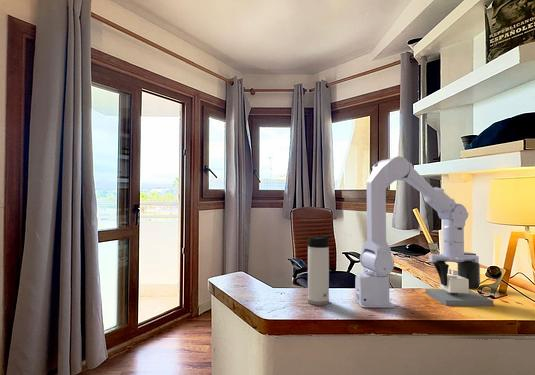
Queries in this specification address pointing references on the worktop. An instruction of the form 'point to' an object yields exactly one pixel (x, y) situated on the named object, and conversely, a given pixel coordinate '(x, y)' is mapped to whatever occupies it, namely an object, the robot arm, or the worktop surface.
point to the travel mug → (318, 270)
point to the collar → (456, 284)
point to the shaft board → (459, 298)
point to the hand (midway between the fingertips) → (453, 285)
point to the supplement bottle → (473, 274)
